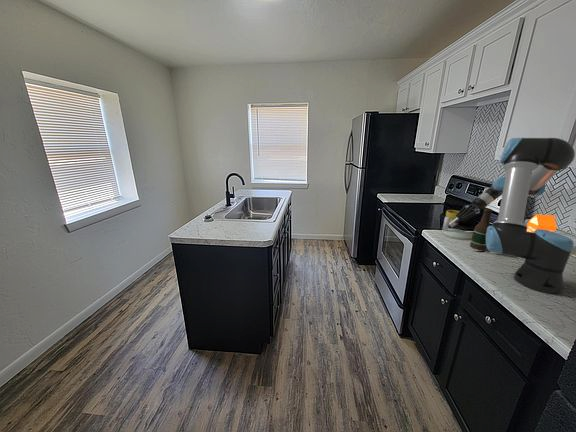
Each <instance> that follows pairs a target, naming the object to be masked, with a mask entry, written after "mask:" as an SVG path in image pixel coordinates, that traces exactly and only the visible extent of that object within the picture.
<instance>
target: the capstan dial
mask: <svg viewBox="0 0 576 432" xmlns="http://www.w3.org/2000/svg"><path fill="white" fill-rule="evenodd" d="M449 221H450V217H447V216H444V220H443V225H442V229H441V234H442V235H443V236H445V237H447V238H451V239H455V240H458V241H460V240H461V241H469V240H470V241H471V239H472V235H473V233H470V232H468V231H465V230H462V229H459V228H458V229H457V228H453V227H451V228H449V226H450V225H449Z"/></svg>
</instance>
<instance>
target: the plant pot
mask: <svg viewBox="0 0 576 432" xmlns="http://www.w3.org/2000/svg"><path fill="white" fill-rule="evenodd" d="M459 211H460V210H454V209H447V210H446V211H445V217H450V221H449V223H450V222H452V221H453V220H454V219H455V218H456V214H457V213H458V212H459ZM457 225H458V224H456V225H455V226H457Z"/></svg>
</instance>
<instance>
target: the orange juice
mask: <svg viewBox="0 0 576 432" xmlns="http://www.w3.org/2000/svg"><path fill="white" fill-rule="evenodd" d="M526 226H527V232H532V233H534V231H535V230H536V229H543V230H548V231H552V232H555V233H556V230H557V222H556V217H555V215H553V214H551V215H550V214H538V213H537V214H534V216H533V217H531V218H530V219H529V221H528V222H527V225H526Z"/></svg>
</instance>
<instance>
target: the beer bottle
mask: <svg viewBox="0 0 576 432" xmlns="http://www.w3.org/2000/svg"><path fill="white" fill-rule="evenodd" d="M492 212H493V209H491V208H486V207H485V208H484V209H483V213H482V217H481V219H480V221H479V223H477V224H476V225H475V227H474V229H473V232H472V238H471V239H470V244H469V248H472V249H474V250H475V252H477V253H485V252H486V250H488V249H487V247H486V232H487V228H488V226H491V223H490V222H491V217H492Z"/></svg>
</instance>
